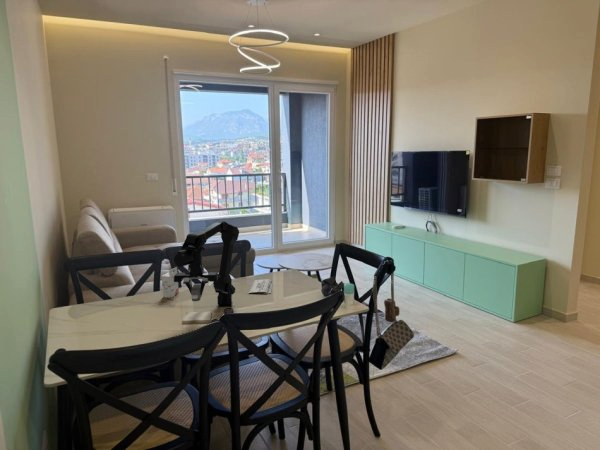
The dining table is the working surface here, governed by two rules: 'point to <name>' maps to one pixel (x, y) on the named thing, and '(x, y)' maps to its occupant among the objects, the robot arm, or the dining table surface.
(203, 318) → the oak board
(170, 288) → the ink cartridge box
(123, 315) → the dining table surface
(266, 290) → the newspaper
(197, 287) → the connector
